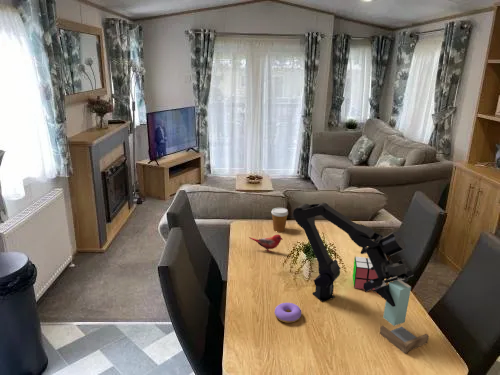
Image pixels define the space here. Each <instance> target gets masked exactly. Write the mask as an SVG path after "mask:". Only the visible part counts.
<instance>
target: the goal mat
mask: <svg viewBox="0 0 500 375" xmlns="http://www.w3.org/2000/svg"><path fill="white" fill-rule="evenodd" d="M390 331H391V332H392V333H393V334H395V335H396V336H397V337H398V338H400V339H401V340H402V341H404V342H407V341H410V340H412V339H414V338H417V337H418V336H416V335H414V334H413V333H411V332H410V331H409V330H407V329H406V328H405V327H403V326H399V327H396V328H394V329H392V330H390Z"/></svg>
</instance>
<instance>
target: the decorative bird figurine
mask: <svg viewBox="0 0 500 375" xmlns="http://www.w3.org/2000/svg"><path fill="white" fill-rule="evenodd" d="M248 238H249V239H250V240H252V241H254V242H256V243H257V245H259V246H260V247H262V248H264V249H265V250H264V251H265V252H269V253H275V251H272V250H273V249H276V248H277V247H278V246H279V244H280V243H281V241H283V237H282V236H281V235H280V234H275V235H273V236H270V237H263V238H260V239H257V238H254V237H248Z"/></svg>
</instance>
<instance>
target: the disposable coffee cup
mask: <svg viewBox="0 0 500 375" xmlns="http://www.w3.org/2000/svg"><path fill="white" fill-rule="evenodd" d="M270 212H271V217H272V218H271V219H272V225H273V226H272V227H273V231H274V232H276V231H277V232H276V233H283V232H285V231H286V224H287V218H288V215H289V211H288V209H287V208H285V207H275V208H272V210H271V211H270Z"/></svg>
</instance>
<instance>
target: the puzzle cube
mask: <svg viewBox="0 0 500 375" xmlns="http://www.w3.org/2000/svg"><path fill="white" fill-rule="evenodd" d="M371 267H373V266H372V263H371V261H370V259H369V257H363V256H354V261H353V269H352V270H353V271H352V283H353V288H354V289H357V290H364V288H363V286H364V283H366V282H368V281H370V280H372V279H376V278H378V276H377V274H376V272H375V270H372V269H371ZM374 290H375V288H373V289H372V290H371V291H374Z"/></svg>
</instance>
